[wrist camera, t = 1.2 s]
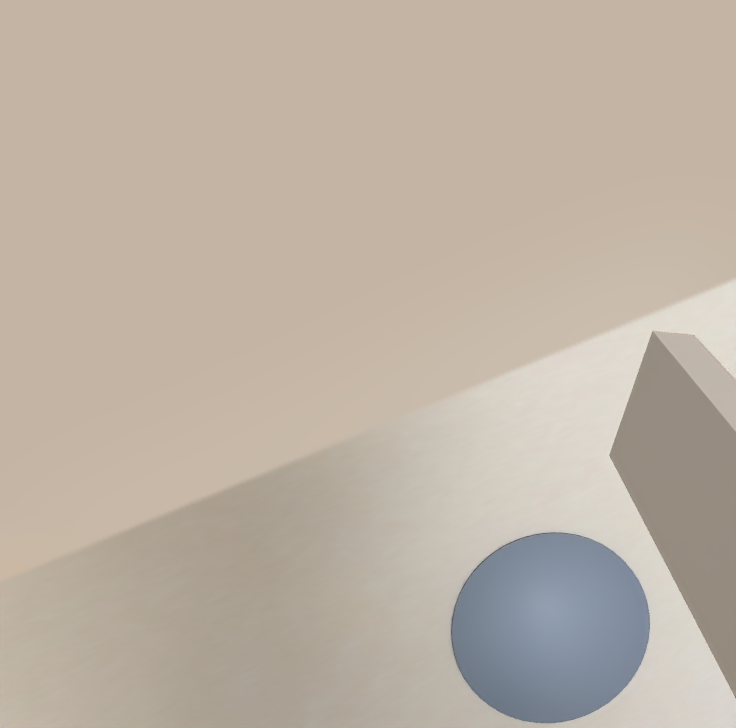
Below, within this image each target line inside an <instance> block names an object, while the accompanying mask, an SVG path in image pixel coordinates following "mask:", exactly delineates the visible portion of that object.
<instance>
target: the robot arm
mask: <svg viewBox="0 0 736 728" xmlns="http://www.w3.org/2000/svg"><path fill="white" fill-rule="evenodd" d="M609 456H610V458H611V460H612V461H613V463H614V465H615V467H616V469H617V471H618V473H619V475H620V477H621V479H622V481H623V483H624V484H625V486H626V488H627V490H628V492H629V494H630V496H631V498H632V500H633V502H634V504H635V506H636V508H637V509H638V511H639V513H640V515H641V517H642V519H643V521H644V523H645V525H646V527H647V529H648V531H649V532H650V534H651V536H652V538H653V540H654V542H655V544H656V546H657V548H658V550H659V552H660V554H661V556H662V557H663V559H664V561H665V563H666V565H667V567H668V569H669V571H670V573H671V575H672V577H673V579H674V580H675V582H676V584H677V586H678V588H679V590H680V592H681V594H682V596H683V598H684V600H685V602H686V604H687V605H688V607H689V609H690V611H691V613H692V615H693V617H694V619H695V621H696V623H697V625H698V627H699V628H700V630H701V632H702V634H703V636H704V638H705V640H706V642H707V644H708V646H709V648H710V650H711V652H712V653H713V655H714V657H715V659H716V661H717V663H718V665H719V667H720V669H721V671H722V673H723V675H724V676H725V678H726V680H727V682H728V684H729V686H730V688H731V690H732V692H733V694H734V696H735V698H736V380H735V379H734V377H733V376H732V375H731V374H730V373H729V372H728V371H727V370H726V369H725V368H724V367H723V366H722V365H721V363H720V362H719V361H718V360H717V359H716V358H715V357H714V356H713V355H712V354H711V353H710V352H709V351H708V350H707V348H706V347H705V346H704V345H703V344H702V343H701V342H700V341H699V340H698V339H697V338H696V337H695V336H694V335H688V334H678V333H668V332H658V331H652V334H651V337H650V340H649V343H648V346H647V349H646V352H645V354H644V357H643V360H642V363H641V366H640V369H639V372H638V375H637V377H636V380H635V383H634V386H633V389H632V392H631V395H630V397H629V400H628V403H627V406H626V409H625V412H624V415H623V418H622V420H621V423H620V426H619V429H618V432H617V435H616V438H615V440H614V443H613V446H612V449H611V452H610V455H609Z"/></svg>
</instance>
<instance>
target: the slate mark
mask: <svg viewBox="0 0 736 728" xmlns="http://www.w3.org/2000/svg"><path fill="white" fill-rule="evenodd" d="M649 630H650V618H649V610H648V603H647V600H646V597H645V594H644V591H643V589H642V587H641V584H640V582H639V580H638V579H637V577H636V576H635V574H634V573H633V571H632V570H631V569H630V568H629V566H628V565H627V564H626V563H625V562H624V561H623V560H622V559H621V558H620V557H619V556H618V555H616V554H615V553H614V552H613V551H611V550H610V549H608V548H607V547H605V546H604V545H602V544H600V543H598V542H595V541H593V540H591V539H588V538H585V537H582V536H578V535H573V534H567V533H545V534H537V535H532V536H528V537H525V538H522V539H519V540H516V541H514V542H512V543H510V544H508V545H505V546H503V547H502V548H500V549H499V550H497V551H496V552H494V553H493V554H491V555H490V556H489V557H488V558H487V559H485V560H484V561H483V562H482V563H481V564H480V565H479V566H478V567H477V568H476V570H475V571H474V572H473V573H472V574H471V576H470V577H469V579H468V580H467V582H466V583H465V585H464V587H463V589H462V591H461V593H460V595H459V598H458V600H457V603H456V606H455V610H454V615H453V621H452V644H453V649H454V654H455V658H456V660H457V663H458V666H459V669H460V671H461V673H462V675H463V677H464V678H465V680H466V682H467V683H468V684H469V686H470V687H471V689H472V690H473V691H474V692H475V693H476V694H477V695H478V696H479V697H480V698H481V699H482V700H483V701H484V702H486V703H487V704H488V705H489V706H491V707H493V708H494V709H496V710H497V711H499V712H501V713H503V714H505V715H508V716H510V717H513V718H516V719H519V720H523V721H528V722H535V723H556V722H564V721H569V720H573V719H576V718H579V717H582V716H585V715H588V714H590V713H592V712H594V711H596V710H598V709H599V708H601V707H602V706H604V705H606V704H607V703H609V702H610V701H611V700H612V699H613V698H615V697H616V696H617V695H618V694H619V693H620V692H621V691H622V690H623V689H624V688H625V687H626V686H627V685H628V683H629V682H630V680H631V679H632V678H633V676H634V675H635V673H636V671H637V670H638V668H639V666H640V664H641V662H642V659H643V657H644V654H645V651H646V647H647V643H648V639H649Z"/></svg>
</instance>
